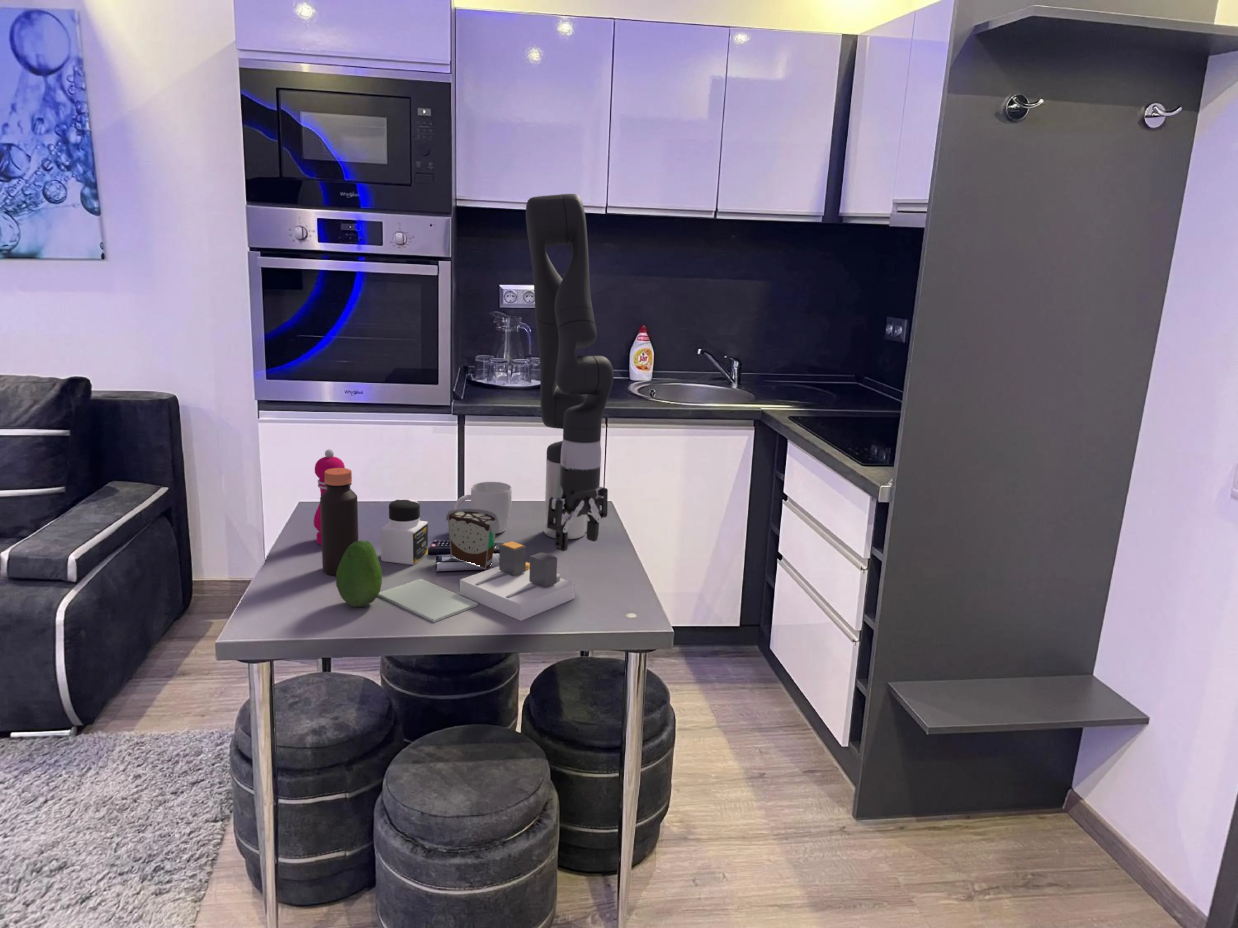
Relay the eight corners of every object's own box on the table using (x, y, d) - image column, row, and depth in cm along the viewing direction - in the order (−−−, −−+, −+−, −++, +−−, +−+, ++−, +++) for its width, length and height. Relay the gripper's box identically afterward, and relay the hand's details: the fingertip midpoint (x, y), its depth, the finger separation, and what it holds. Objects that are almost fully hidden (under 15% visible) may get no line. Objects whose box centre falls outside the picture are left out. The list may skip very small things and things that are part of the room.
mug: (508, 522, 207) (509, 481, 204) (513, 535, 199) (514, 492, 196) (452, 524, 204) (452, 482, 202) (455, 537, 196) (455, 493, 193)
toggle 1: (510, 565, 172) (511, 540, 171) (525, 571, 170) (526, 545, 169) (499, 569, 170) (499, 543, 169) (514, 575, 168) (514, 549, 166)
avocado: (390, 598, 163) (389, 536, 160) (369, 616, 155) (367, 551, 152) (350, 593, 164) (348, 531, 161) (327, 609, 157) (325, 545, 154)
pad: (421, 580, 171) (421, 578, 171) (477, 605, 162) (477, 603, 162) (377, 595, 164) (377, 593, 164) (434, 622, 154) (434, 619, 154)
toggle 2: (540, 577, 168) (541, 552, 166) (556, 583, 165) (557, 557, 164) (529, 581, 165) (530, 556, 164) (545, 587, 163) (545, 561, 162)
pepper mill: (318, 534, 193) (315, 444, 188) (353, 535, 194) (350, 445, 188) (310, 546, 186) (306, 453, 181) (346, 547, 187) (343, 454, 182)
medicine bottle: (414, 565, 179) (413, 508, 176) (380, 561, 180) (379, 504, 177) (428, 553, 185) (428, 498, 182) (396, 549, 187) (395, 494, 184)
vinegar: (344, 560, 179) (341, 464, 174) (366, 569, 176) (364, 471, 170) (315, 570, 174) (311, 471, 169) (337, 579, 170) (334, 478, 165)
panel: (514, 574, 177) (514, 556, 176) (574, 598, 167) (575, 579, 166) (459, 594, 166) (460, 575, 165) (520, 620, 156) (521, 600, 155)
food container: (511, 562, 183) (512, 515, 181) (491, 571, 178) (492, 523, 175) (465, 548, 189) (466, 503, 187) (445, 556, 184) (445, 510, 182)
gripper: (591, 453, 175) (587, 532, 179) (539, 464, 164) (536, 548, 168) (620, 461, 170) (615, 542, 174) (569, 472, 160) (565, 558, 163)
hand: (576, 545), depth 171 cm, fingers open, 8 cm apart
